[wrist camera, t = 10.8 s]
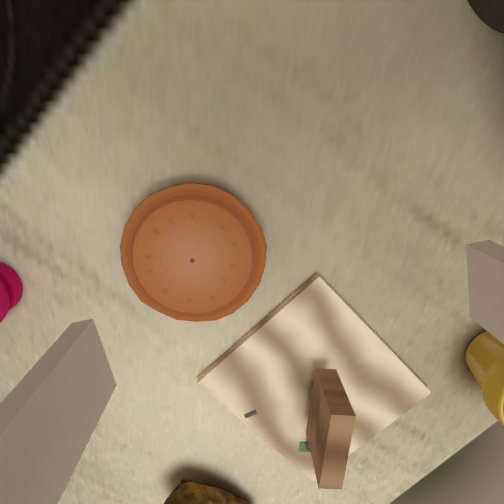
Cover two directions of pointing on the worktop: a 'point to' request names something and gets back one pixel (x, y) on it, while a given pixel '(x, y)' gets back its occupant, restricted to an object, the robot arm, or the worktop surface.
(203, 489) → the potato
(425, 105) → the worktop surface
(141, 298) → the pie
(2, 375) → the worktop surface
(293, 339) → the plate
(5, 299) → the pepper mill
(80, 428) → the robot arm
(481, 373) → the plant pot
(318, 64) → the worktop surface
